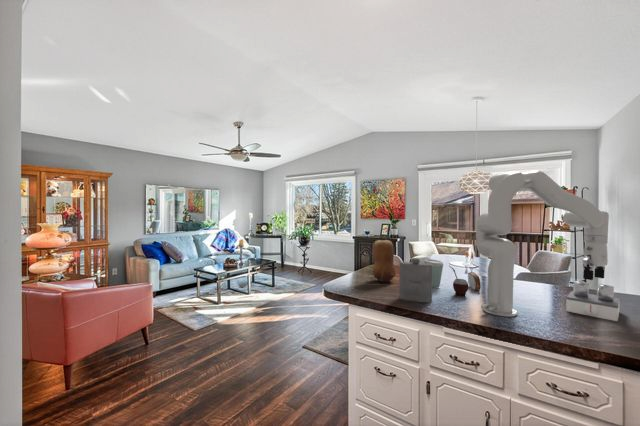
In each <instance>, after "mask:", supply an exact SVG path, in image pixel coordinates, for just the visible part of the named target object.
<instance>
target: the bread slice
mask: <svg viewBox="0 0 640 426" xmlns="http://www.w3.org/2000/svg"><path fill="white" fill-rule="evenodd" d="M467 282H468V287H470V289H472V290H473V291H475V292H476V291H478V292H479V291H480V290H481V288H482V287H481V285H482V283H481V278H480V276H479V274H477V273H475V272H472V271H471V272H468V274H467Z"/></svg>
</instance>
